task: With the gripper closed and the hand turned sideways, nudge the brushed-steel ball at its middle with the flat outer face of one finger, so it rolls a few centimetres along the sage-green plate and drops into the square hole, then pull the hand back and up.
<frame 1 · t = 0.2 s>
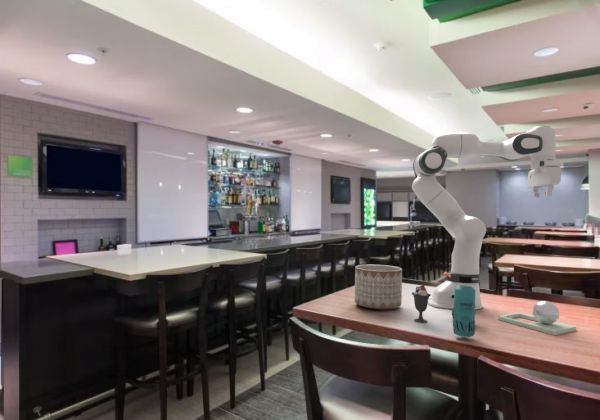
hand: (542, 197, 158), 48 cm above the table, tool pointing down, fingers open, 8 cm apart
hole plate: (532, 323, 135), on the table
planter: (377, 307, 156), on the table
sundae: (420, 321, 136), on the table
steel ball: (545, 312, 131), point 5 cm above the table, touching hole plate
mate gourd: (462, 323, 135), on the table
beverage bottle: (463, 339, 118), on the table
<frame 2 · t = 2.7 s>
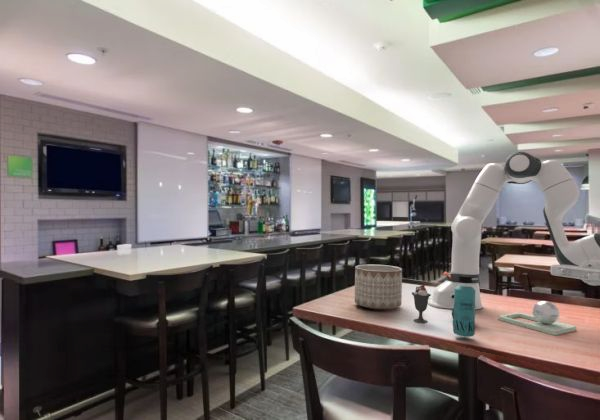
hand: (573, 274, 123), 20 cm above the table, tool horizontal, fingers open, 6 cm apart
nothing on the table moved.
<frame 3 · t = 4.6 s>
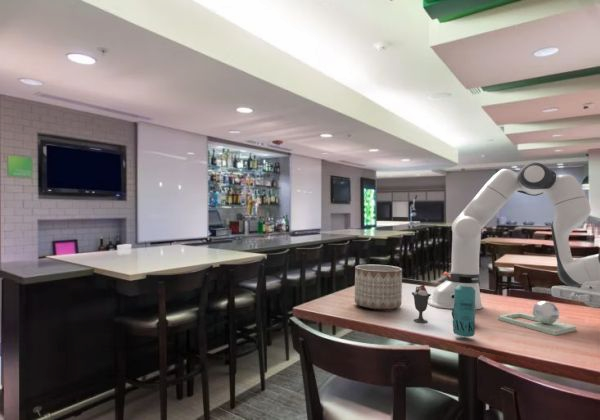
hand: (574, 298, 123), 12 cm above the table, tool horizontal, fingers closed
nothing on the table moved.
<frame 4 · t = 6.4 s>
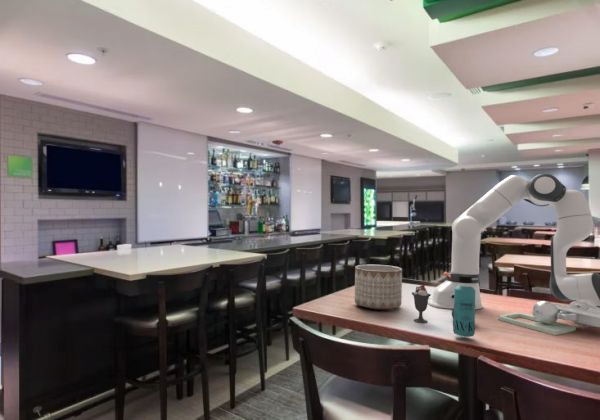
hand: (561, 316, 126), 5 cm above the table, tool horizontal, fingers closed
steel ball: (545, 312, 131), point 5 cm above the table, touching gripper, hole plate
everything else where it was.
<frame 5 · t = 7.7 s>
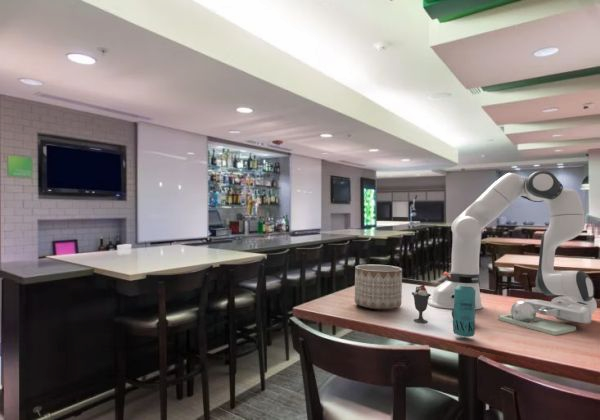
hand: (542, 312, 131), 5 cm above the table, tool horizontal, fingers closed
steel ball: (523, 312, 136), point 4 cm above the table, tilted 106°
everything else where it was.
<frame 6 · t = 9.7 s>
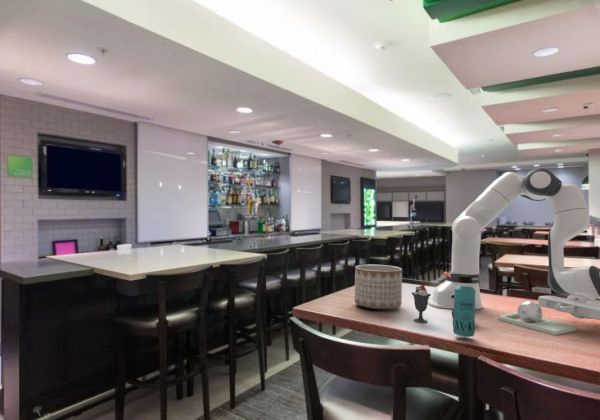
hand: (559, 308, 126), 8 cm above the table, tool horizontal, fingers closed
steel ball: (529, 312, 136), point 4 cm above the table, tilted 79°
everything else where it was.
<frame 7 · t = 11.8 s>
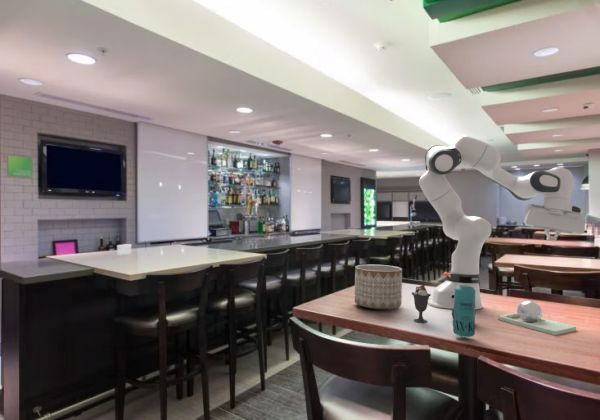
hand: (551, 240, 147), 30 cm above the table, tool tilted 15°, fingers closed
nothing on the table moved.
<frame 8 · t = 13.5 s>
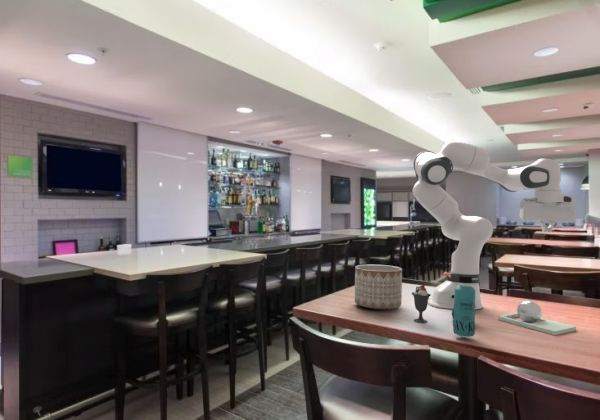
hand: (546, 232, 152), 33 cm above the table, tool pointing down, fingers closed
at the end: steel ball 1.5 cm from the target spot on the hole plate, point 4.0 cm above the hole plate's base; steel ball touching table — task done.
